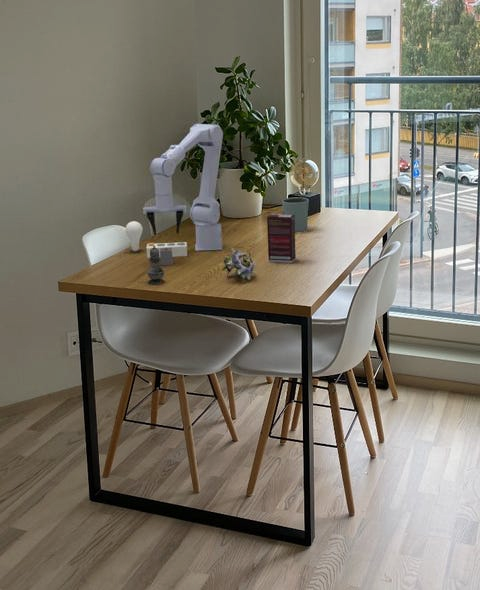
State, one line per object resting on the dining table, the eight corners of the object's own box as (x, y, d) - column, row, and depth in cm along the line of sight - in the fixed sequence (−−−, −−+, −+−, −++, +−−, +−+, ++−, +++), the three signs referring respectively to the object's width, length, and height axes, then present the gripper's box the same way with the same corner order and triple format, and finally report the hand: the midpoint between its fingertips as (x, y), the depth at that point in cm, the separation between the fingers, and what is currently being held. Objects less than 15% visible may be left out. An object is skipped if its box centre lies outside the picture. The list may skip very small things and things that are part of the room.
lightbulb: (141, 253, 318) (139, 223, 315) (124, 253, 319) (122, 223, 316) (146, 249, 324) (144, 219, 320) (130, 249, 325) (127, 219, 322)
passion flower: (248, 296, 285) (244, 273, 275) (217, 287, 288) (212, 264, 278) (261, 269, 290) (258, 246, 281) (231, 261, 294) (227, 237, 284)
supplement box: (296, 259, 304) (295, 214, 299) (292, 263, 300) (291, 217, 295) (271, 258, 307) (270, 213, 302) (267, 262, 302) (266, 216, 298)
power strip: (187, 251, 319) (186, 240, 317) (187, 256, 313) (186, 244, 312) (147, 253, 318) (147, 241, 317) (147, 257, 312) (146, 246, 311)
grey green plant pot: (313, 229, 346) (313, 198, 342) (301, 234, 338) (300, 203, 334) (290, 226, 351) (290, 196, 348) (277, 232, 343) (277, 201, 340)
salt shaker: (147, 279, 286) (144, 243, 283) (165, 278, 287) (163, 242, 283) (146, 285, 281) (144, 248, 277) (165, 284, 281) (163, 247, 278)
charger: (172, 260, 308) (171, 245, 306) (172, 264, 302) (171, 249, 301) (161, 261, 307) (160, 246, 306) (160, 265, 302) (159, 250, 301)
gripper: (141, 197, 296) (144, 237, 300) (185, 195, 297) (187, 235, 301) (142, 193, 302) (145, 232, 307) (185, 191, 303) (187, 230, 307)
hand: (166, 233), depth 304 cm, fingers open, 7 cm apart
